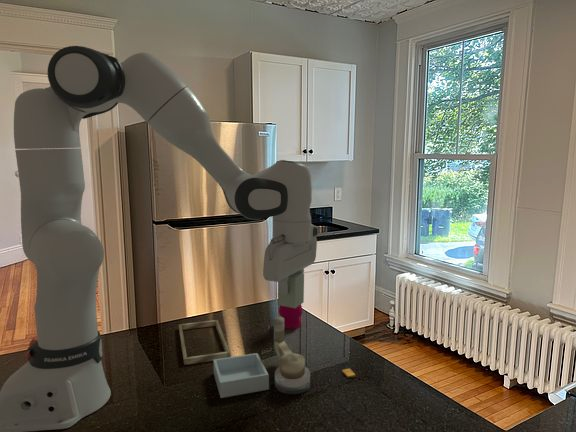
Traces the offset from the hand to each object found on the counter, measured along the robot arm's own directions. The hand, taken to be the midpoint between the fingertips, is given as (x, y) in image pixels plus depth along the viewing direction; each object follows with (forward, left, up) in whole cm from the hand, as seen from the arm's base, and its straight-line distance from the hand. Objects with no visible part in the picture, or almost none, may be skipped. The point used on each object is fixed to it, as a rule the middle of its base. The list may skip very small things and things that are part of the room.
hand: (290, 290), depth 97 cm
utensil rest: (-18, +23, -20) cm, 35 cm away
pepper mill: (+9, +27, -20) cm, 34 cm away
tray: (-12, 0, -20) cm, 24 cm away
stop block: (0, 0, -3) cm, 3 cm away
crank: (-1, -1, -17) cm, 17 cm away
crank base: (+4, -5, -20) cm, 21 cm away
